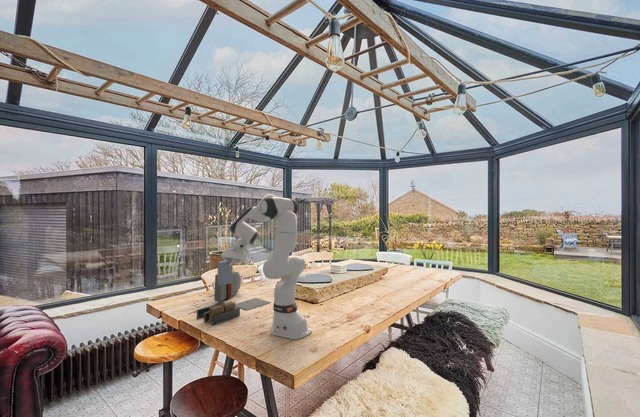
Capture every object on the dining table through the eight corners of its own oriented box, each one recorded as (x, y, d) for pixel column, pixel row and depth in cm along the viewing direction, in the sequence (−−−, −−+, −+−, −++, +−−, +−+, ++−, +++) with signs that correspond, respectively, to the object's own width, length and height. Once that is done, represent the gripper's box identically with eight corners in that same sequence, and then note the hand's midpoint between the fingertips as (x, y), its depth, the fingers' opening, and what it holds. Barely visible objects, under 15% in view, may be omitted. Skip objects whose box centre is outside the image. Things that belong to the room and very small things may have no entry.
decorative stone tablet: (222, 274, 200) (242, 269, 229) (213, 274, 201) (234, 269, 230) (221, 303, 198) (241, 294, 227) (212, 302, 199) (233, 294, 229)
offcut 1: (223, 319, 171) (223, 306, 171) (212, 323, 166) (212, 309, 166) (219, 318, 174) (219, 304, 174) (208, 321, 168) (209, 307, 168)
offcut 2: (235, 315, 177) (235, 302, 177) (225, 319, 172) (225, 305, 172) (231, 314, 180) (231, 301, 180) (221, 317, 174) (221, 304, 174)
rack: (239, 316, 177) (239, 307, 177) (213, 325, 163) (213, 316, 163) (223, 310, 188) (223, 302, 188) (196, 318, 173) (196, 309, 173)
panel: (232, 282, 185) (232, 260, 185) (221, 285, 179) (221, 262, 179) (228, 281, 188) (228, 260, 188) (217, 284, 181) (217, 261, 181)
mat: (270, 302, 203) (270, 302, 203) (247, 310, 187) (247, 309, 187) (255, 298, 212) (255, 297, 212) (232, 305, 197) (232, 304, 197)
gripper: (226, 243, 196) (213, 260, 188) (246, 246, 184) (233, 264, 176) (232, 249, 200) (219, 266, 192) (251, 252, 187) (239, 270, 180)
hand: (226, 265), depth 184 cm, fingers closed on panel, 4 cm apart
